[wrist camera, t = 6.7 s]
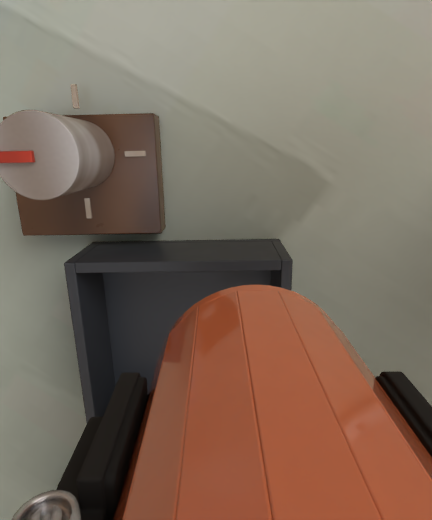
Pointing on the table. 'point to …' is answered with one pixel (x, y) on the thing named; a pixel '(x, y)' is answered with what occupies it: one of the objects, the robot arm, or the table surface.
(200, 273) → the dark grey square tray
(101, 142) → the tap knob
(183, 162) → the table surface
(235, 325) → the cup
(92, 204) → the panel
